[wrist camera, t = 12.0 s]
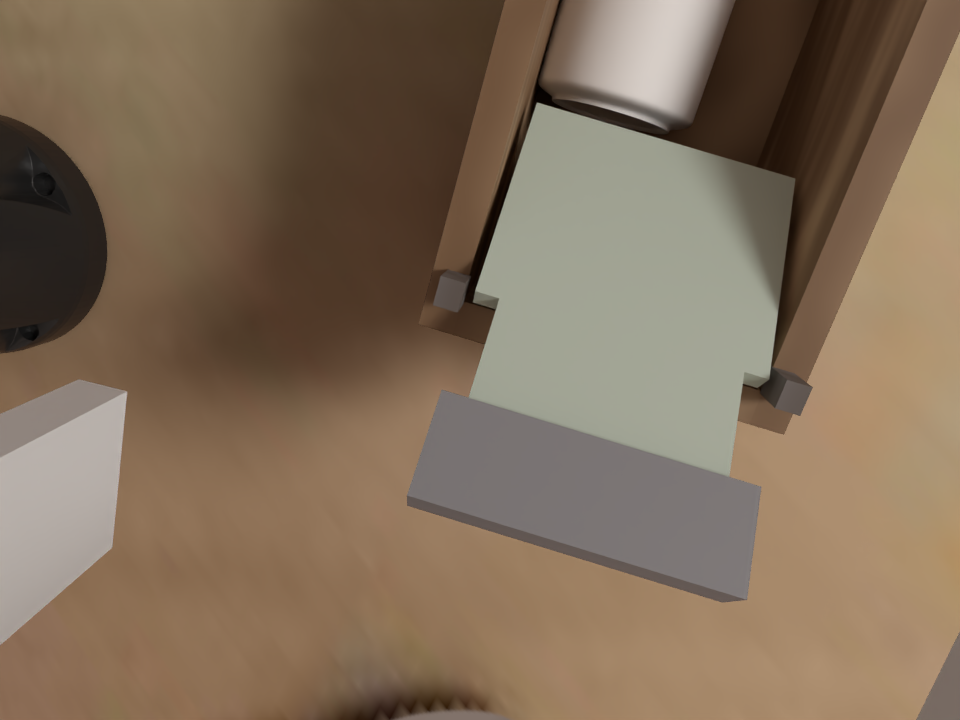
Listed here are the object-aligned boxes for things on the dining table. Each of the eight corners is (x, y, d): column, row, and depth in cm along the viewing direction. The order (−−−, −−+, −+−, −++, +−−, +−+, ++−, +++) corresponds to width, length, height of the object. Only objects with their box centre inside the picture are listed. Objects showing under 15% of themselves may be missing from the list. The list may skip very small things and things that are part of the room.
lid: (407, 505, 25) (407, 495, 24) (531, 125, 32) (539, 94, 31) (722, 602, 25) (746, 599, 23) (778, 198, 32) (801, 171, 30)
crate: (460, 278, 43) (409, 334, 27) (592, -196, 36) (627, -489, 20) (706, 352, 43) (800, 453, 27) (887, -111, 36) (1156, -343, 20)
